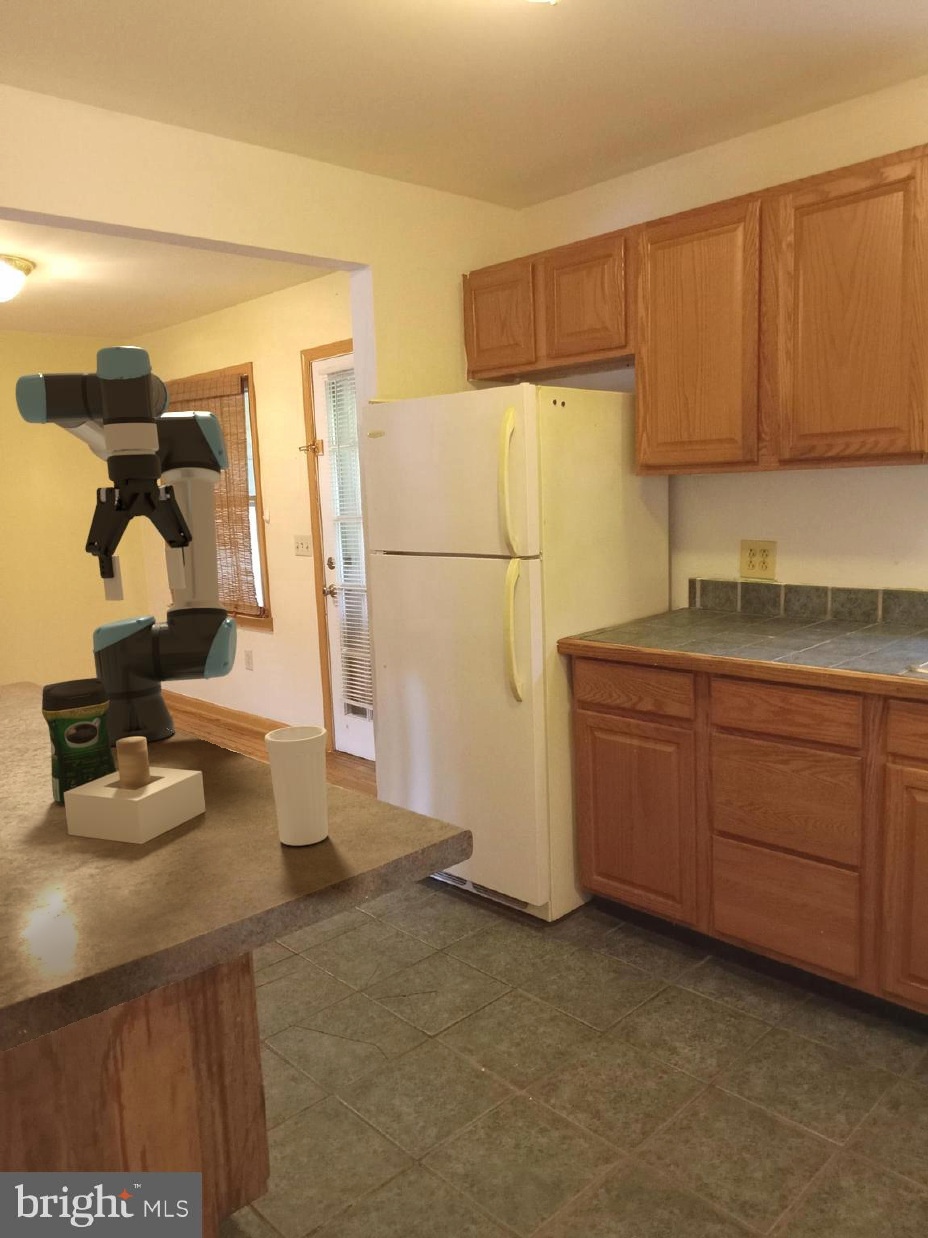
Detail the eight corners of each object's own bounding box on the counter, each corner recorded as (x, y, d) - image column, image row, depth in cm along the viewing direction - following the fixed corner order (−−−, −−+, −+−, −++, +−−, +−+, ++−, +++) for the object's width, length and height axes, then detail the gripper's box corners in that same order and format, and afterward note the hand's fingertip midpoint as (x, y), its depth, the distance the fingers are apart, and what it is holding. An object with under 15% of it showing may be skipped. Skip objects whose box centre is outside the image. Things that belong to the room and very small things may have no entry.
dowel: (138, 816, 131) (130, 735, 129) (160, 818, 129) (152, 737, 128) (118, 826, 127) (109, 743, 126) (140, 828, 126) (131, 745, 124)
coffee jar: (114, 784, 147) (102, 672, 145) (123, 797, 140) (111, 679, 138) (49, 797, 142) (36, 681, 140) (56, 810, 136) (41, 689, 133)
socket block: (136, 803, 137) (132, 765, 136) (205, 811, 132) (201, 771, 131) (68, 834, 125) (63, 792, 124) (141, 844, 120) (137, 800, 119)
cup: (267, 835, 121) (258, 731, 119) (326, 824, 124) (318, 722, 122) (280, 856, 113) (270, 745, 111) (342, 843, 116) (334, 735, 115)
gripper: (170, 455, 149) (182, 584, 152) (47, 454, 126) (65, 605, 129) (206, 453, 146) (218, 584, 149) (88, 451, 123) (105, 605, 126)
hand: (147, 594), depth 139 cm, fingers open, 13 cm apart
